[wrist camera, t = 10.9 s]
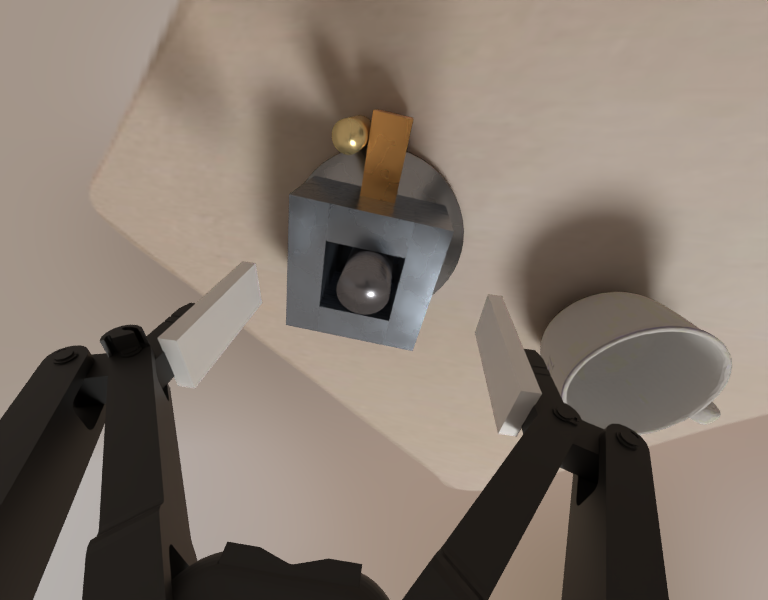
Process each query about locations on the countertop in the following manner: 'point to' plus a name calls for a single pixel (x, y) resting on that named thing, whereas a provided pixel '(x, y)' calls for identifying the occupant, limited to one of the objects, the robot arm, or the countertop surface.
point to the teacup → (634, 363)
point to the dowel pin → (351, 134)
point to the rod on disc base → (377, 270)
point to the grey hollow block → (366, 243)
